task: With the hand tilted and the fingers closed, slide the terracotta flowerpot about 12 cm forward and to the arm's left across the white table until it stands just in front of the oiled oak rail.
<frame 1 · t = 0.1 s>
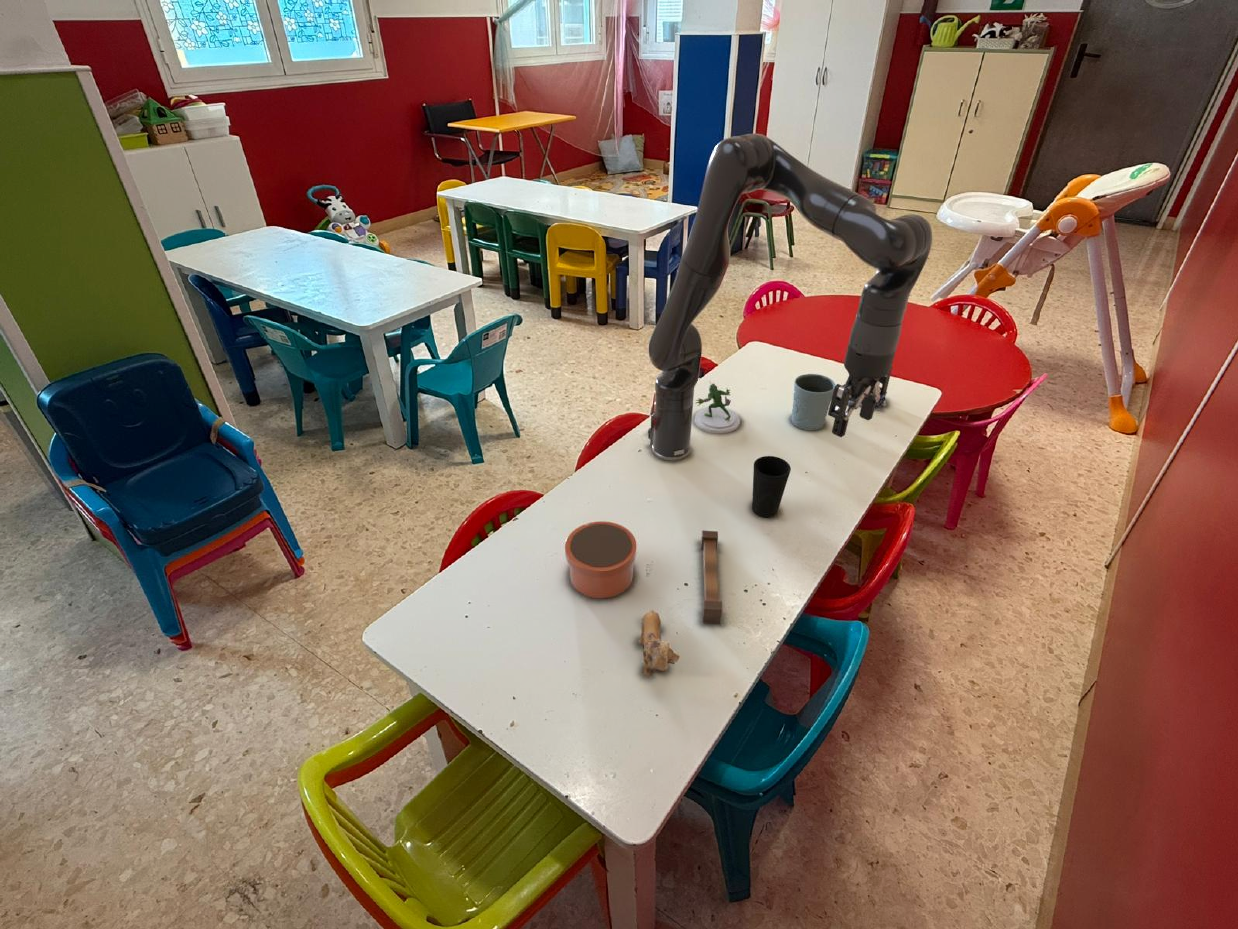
hand: (851, 426, 114), 29 cm above the table, tool pointing down, fingers open, 8 cm apart
terracotta pot: (601, 574, 125), on the table
monster figurine: (716, 421, 170), on the table
grey planter pot: (806, 422, 169), on the table
race car: (858, 400, 179), on the table
cup: (764, 510, 140), on the table
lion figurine: (655, 656, 109), on the table
oak rail: (709, 581, 123), on the table
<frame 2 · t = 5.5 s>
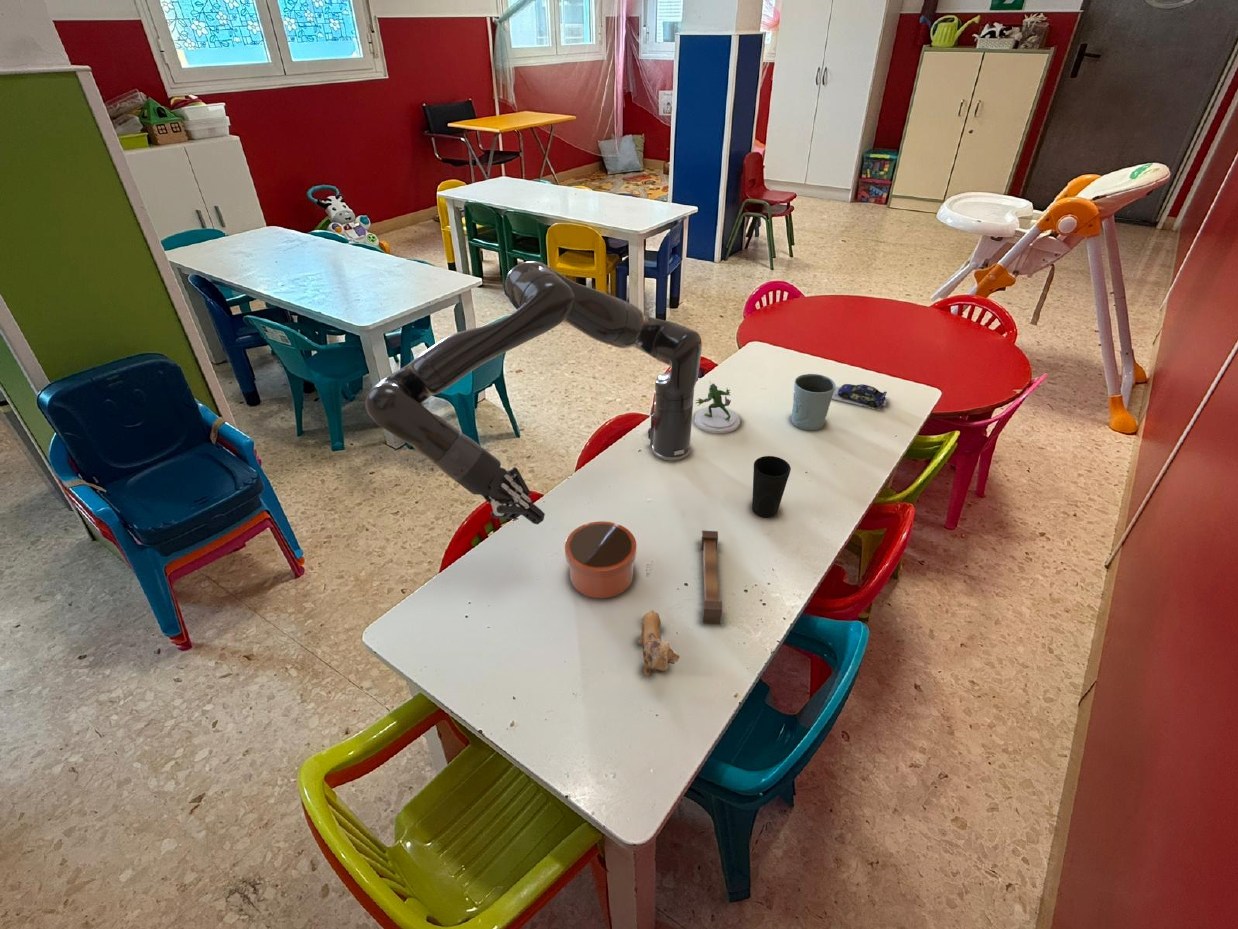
hand: (541, 519, 117), 14 cm above the table, tool tilted 45°, fingers closed
nothing on the table moved.
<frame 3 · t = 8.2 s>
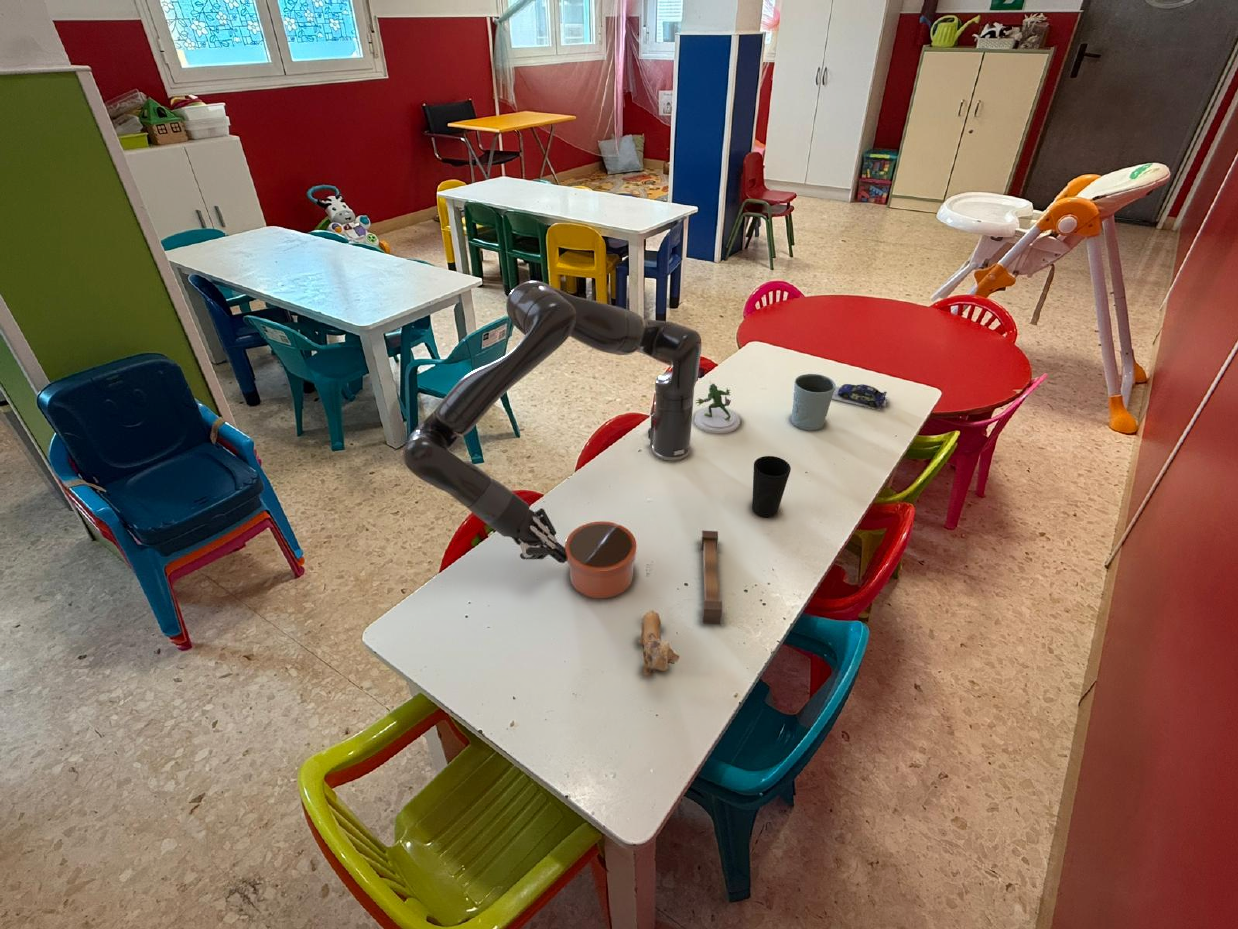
hand: (566, 558, 123), 4 cm above the table, tool tilted 45°, fingers closed
terracotta pot: (601, 574, 125), on the table, touching gripper
everything else where it was.
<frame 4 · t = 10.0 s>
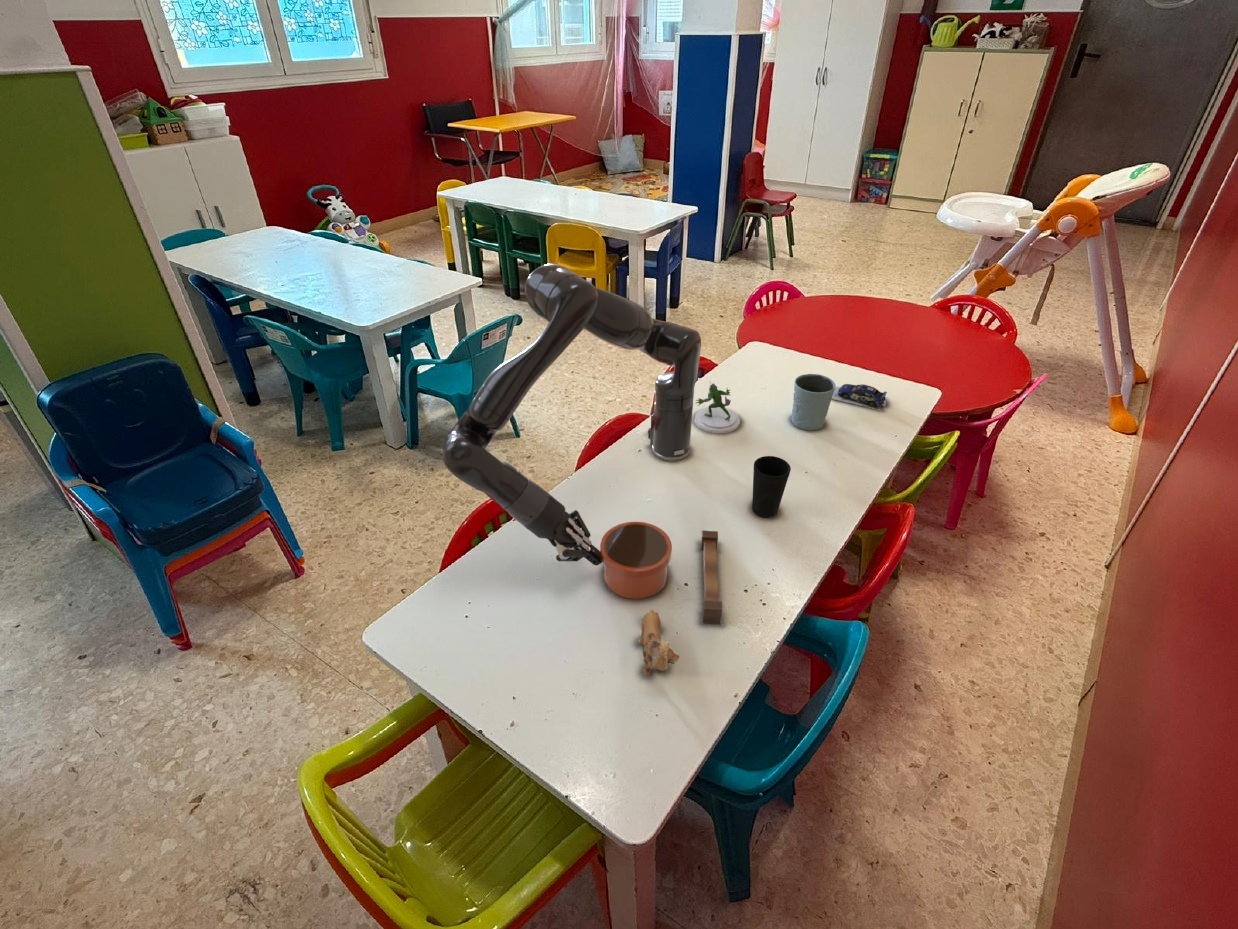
hand: (600, 560, 122), 4 cm above the table, tool tilted 45°, fingers closed
terracotta pot: (635, 574, 124), on the table, touching gripper
everything else where it was.
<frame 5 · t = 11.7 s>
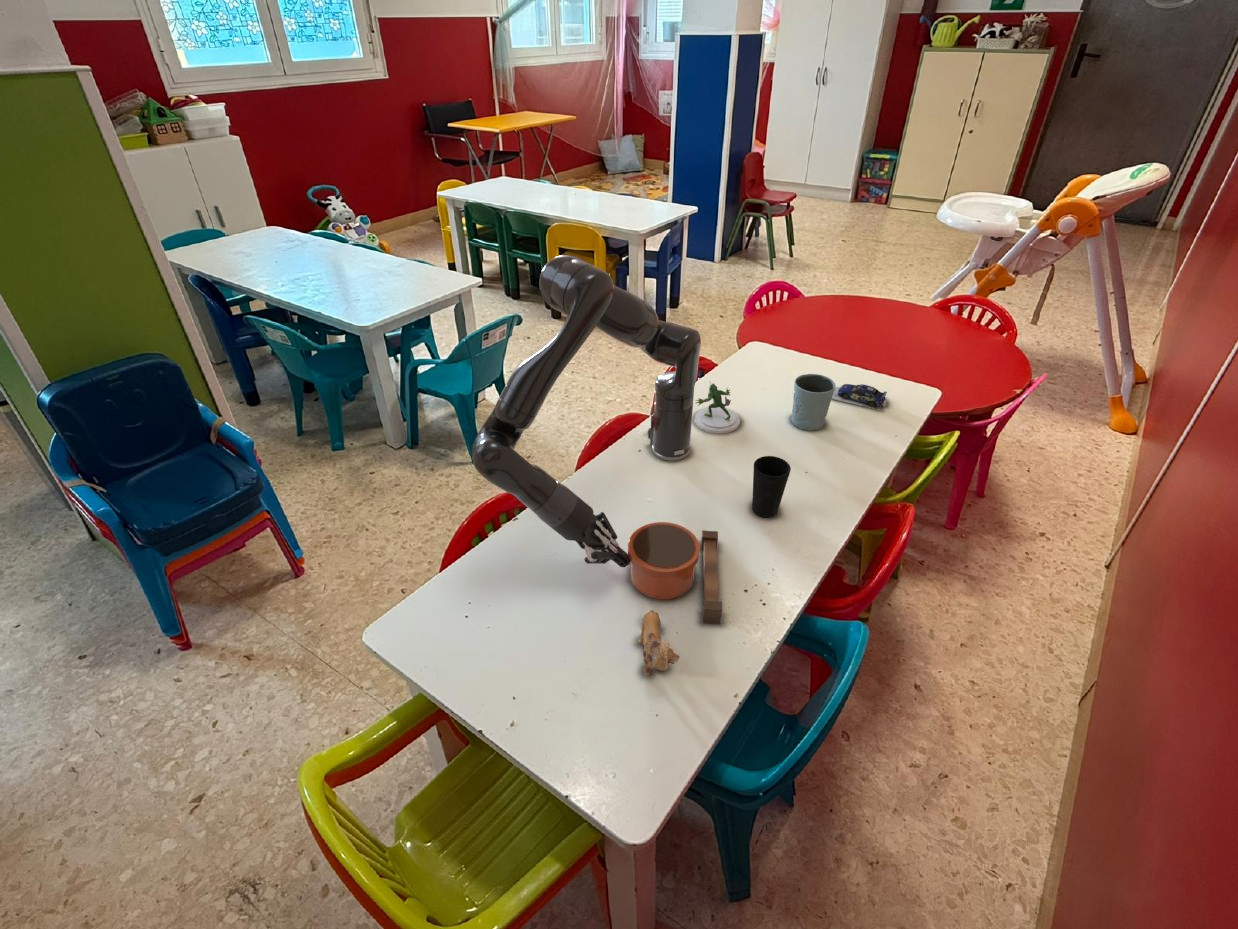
hand: (627, 562, 122), 4 cm above the table, tool tilted 45°, fingers closed
terracotta pot: (662, 575, 124), on the table, touching gripper
everything else where it was.
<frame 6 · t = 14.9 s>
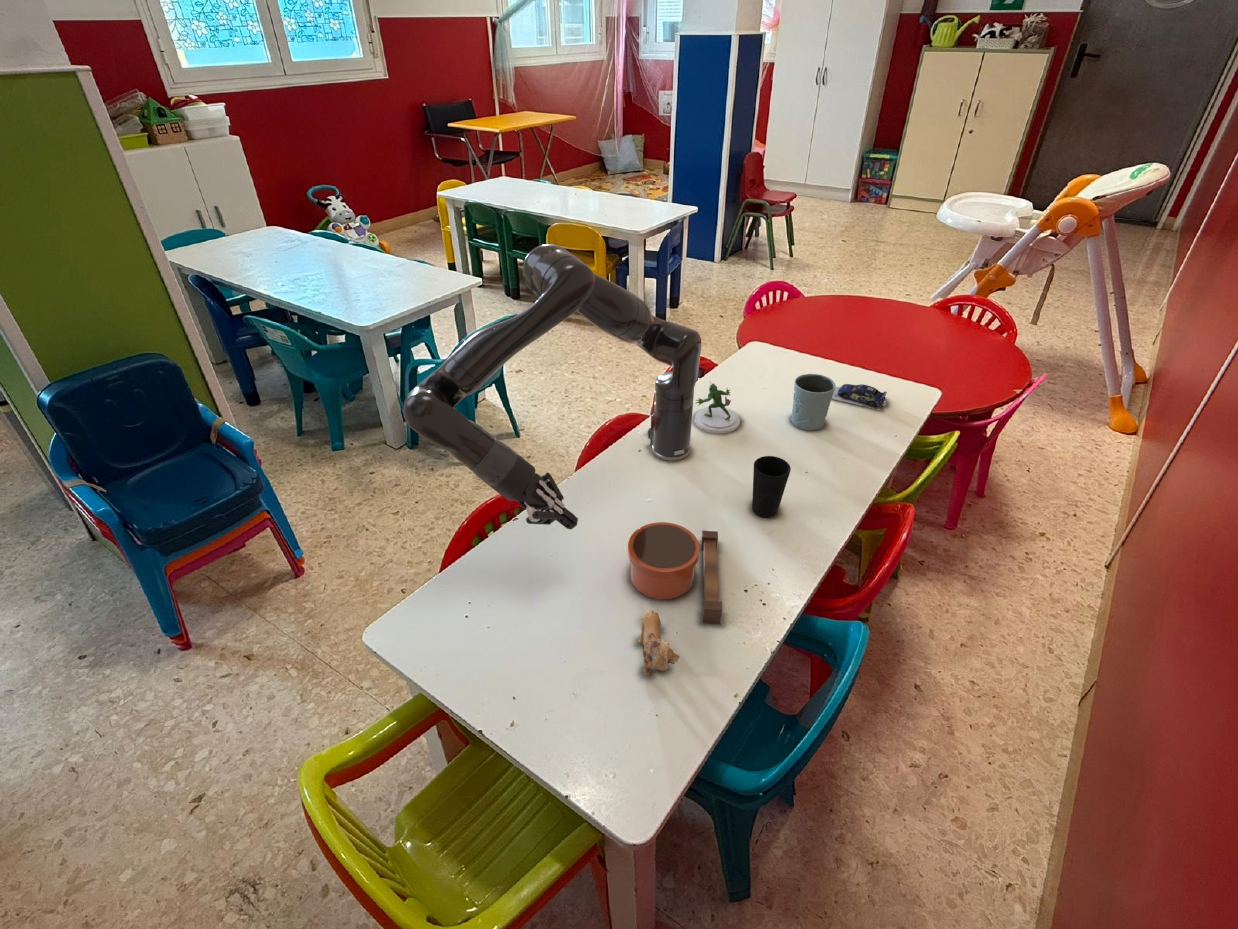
hand: (574, 524, 117), 13 cm above the table, tool tilted 45°, fingers closed
terracotta pot: (662, 575, 124), on the table
everything else where it was.
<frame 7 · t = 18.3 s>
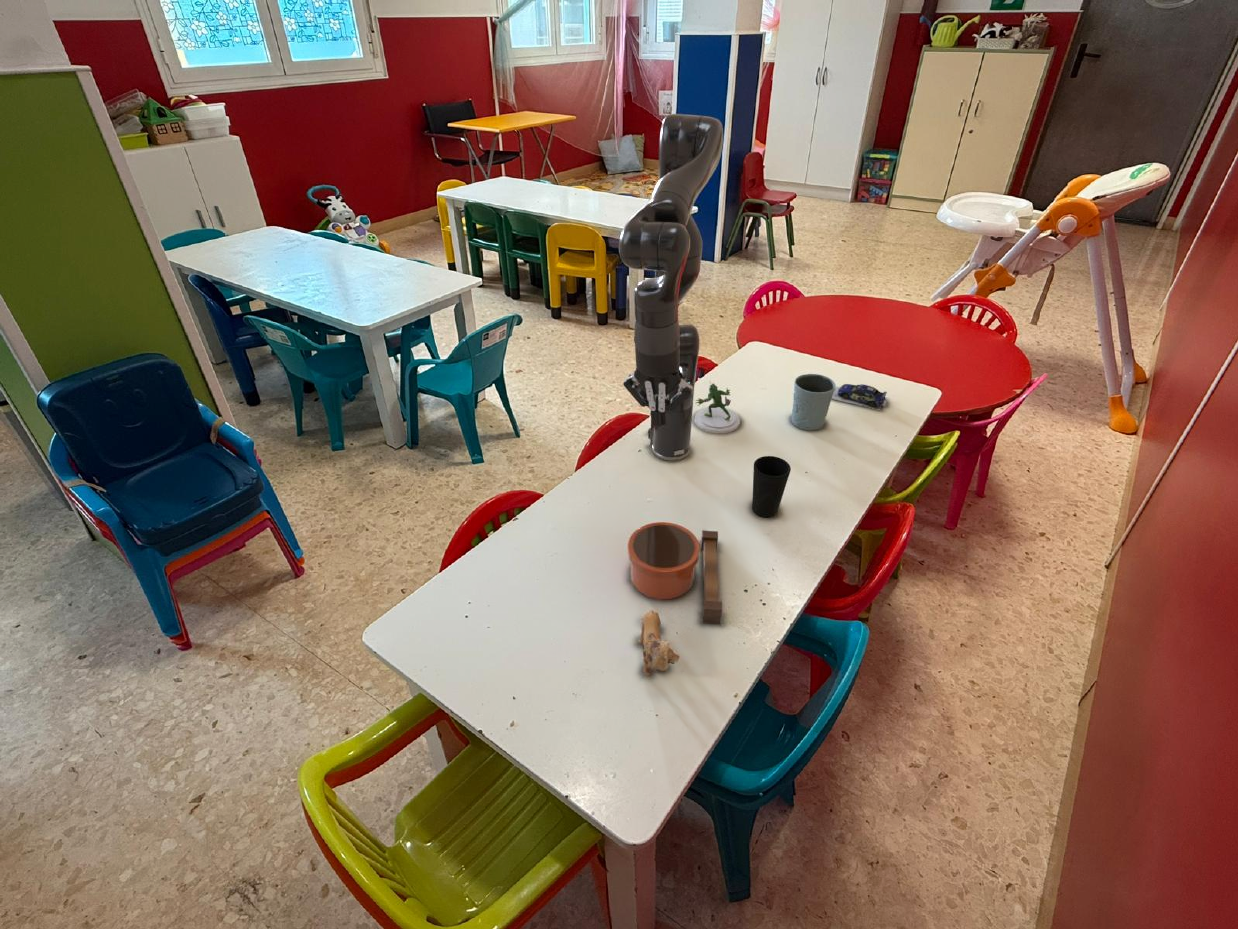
hand: (659, 424, 117), 28 cm above the table, tool pointing down, fingers closed
nothing on the table moved.
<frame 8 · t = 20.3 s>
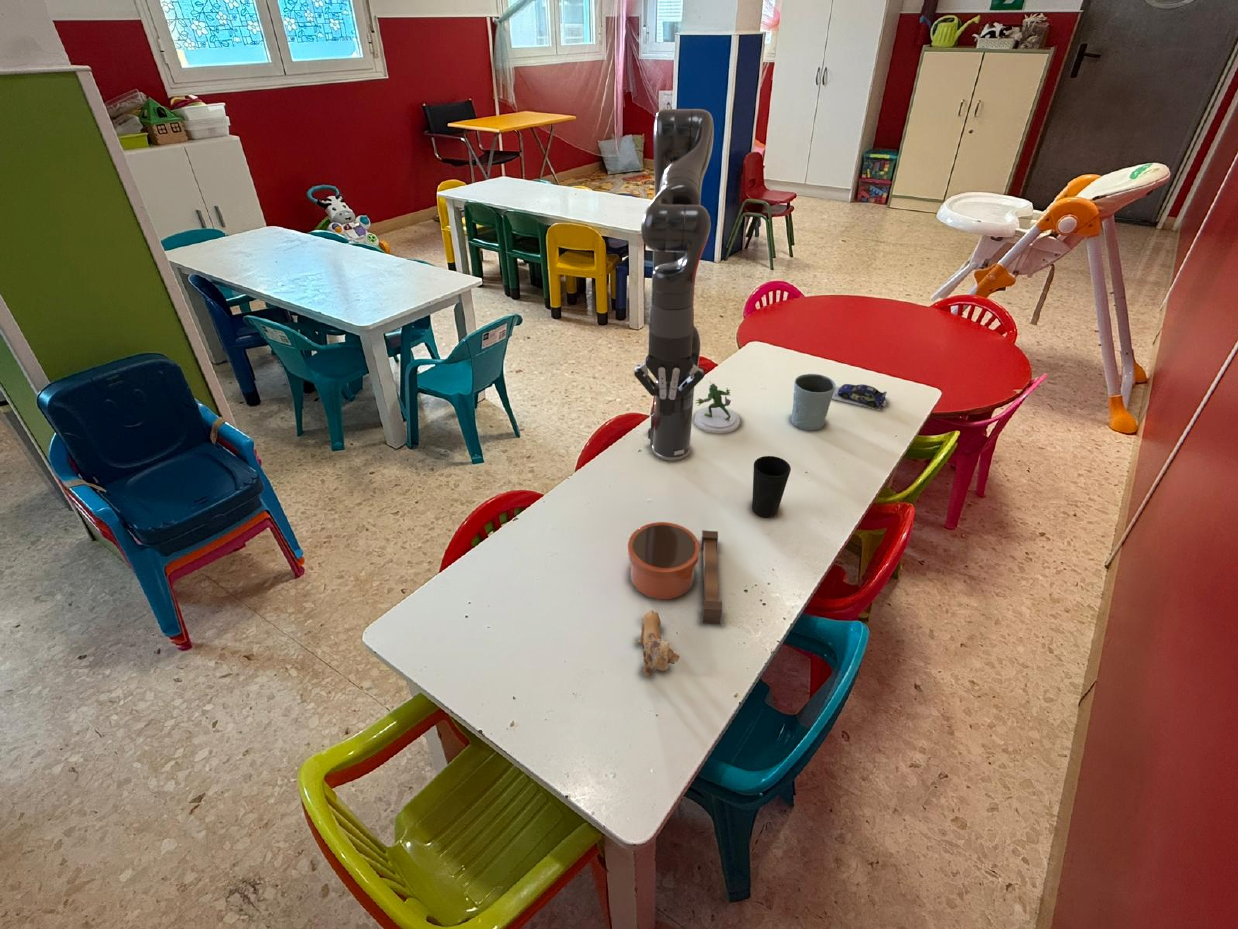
hand: (666, 413, 118), 29 cm above the table, tool pointing down, fingers closed
nothing on the table moved.
at the end: terracotta pot inside the target area (0.8 cm from its centre), on the table; terracotta pot tilted 0°; terracotta pot moved 11.9 cm from its start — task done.
